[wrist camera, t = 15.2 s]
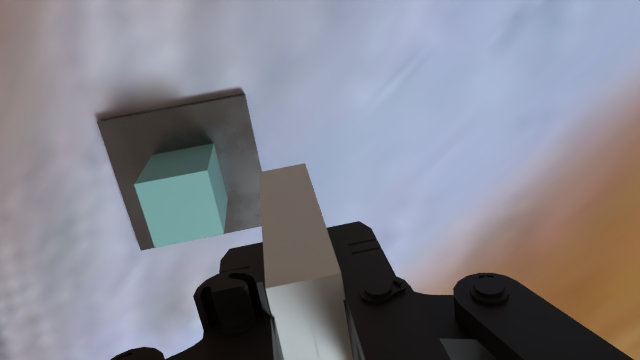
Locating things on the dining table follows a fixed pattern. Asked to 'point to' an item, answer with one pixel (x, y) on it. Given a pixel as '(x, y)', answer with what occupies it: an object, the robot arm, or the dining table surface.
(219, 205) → the teal block
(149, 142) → the grey square plate
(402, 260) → the dining table surface
